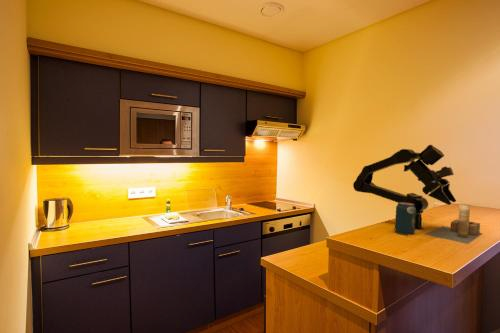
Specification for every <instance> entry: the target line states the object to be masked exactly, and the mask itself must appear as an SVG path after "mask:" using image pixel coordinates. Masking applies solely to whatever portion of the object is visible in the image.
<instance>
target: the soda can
mask: <svg viewBox="0 0 500 333" xmlns="http://www.w3.org/2000/svg"><path fill="white" fill-rule="evenodd" d="M415 216H416V208H415V206H414V204H413V203H407V202H397V205H396V206H395V218H394V220H395V221H394V222H395V223H394V230H395V232H396V233H397V234H399V235H403V236H409V235H413V234H414V233H415V231H416V229H415Z"/></svg>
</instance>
